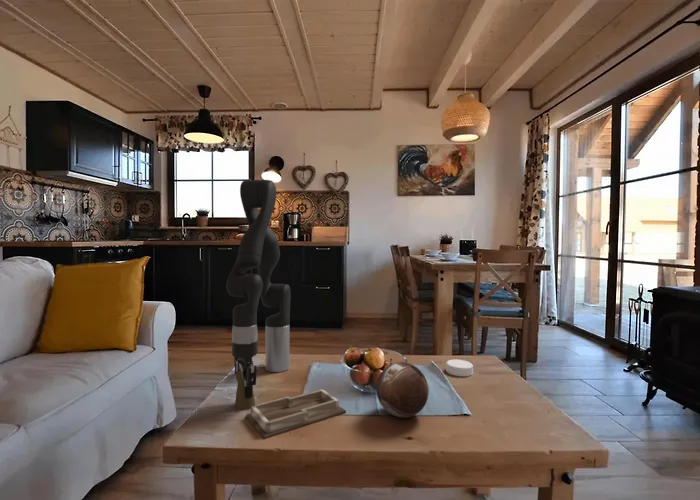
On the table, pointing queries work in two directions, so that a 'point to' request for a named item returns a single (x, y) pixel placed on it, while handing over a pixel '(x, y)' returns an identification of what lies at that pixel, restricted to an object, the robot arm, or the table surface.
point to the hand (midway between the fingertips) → (244, 393)
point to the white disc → (459, 367)
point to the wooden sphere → (402, 389)
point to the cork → (242, 395)
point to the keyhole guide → (293, 412)
